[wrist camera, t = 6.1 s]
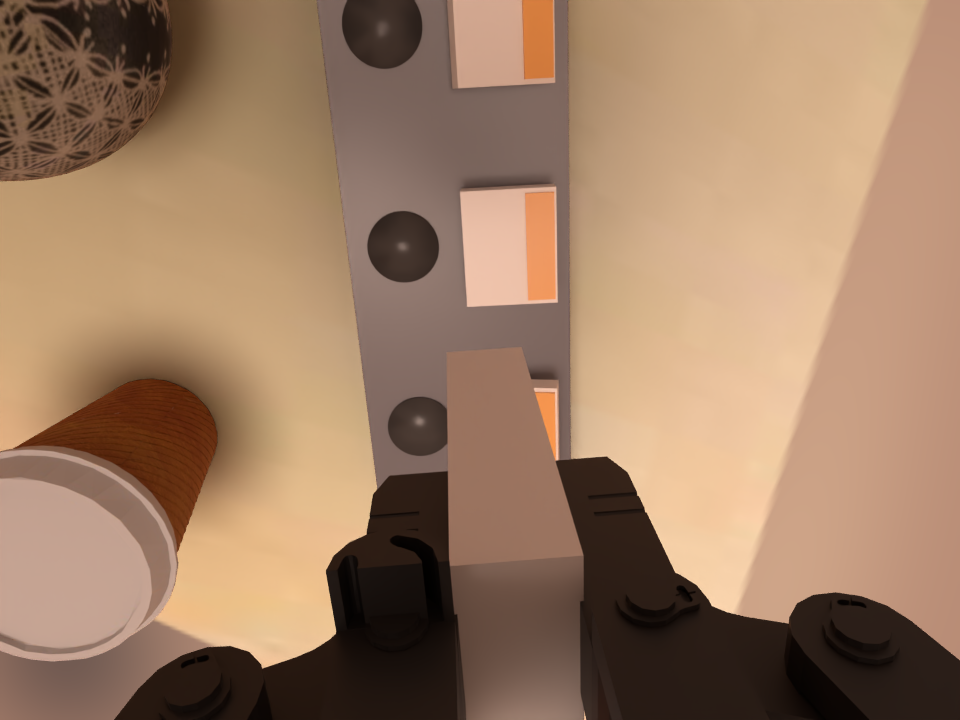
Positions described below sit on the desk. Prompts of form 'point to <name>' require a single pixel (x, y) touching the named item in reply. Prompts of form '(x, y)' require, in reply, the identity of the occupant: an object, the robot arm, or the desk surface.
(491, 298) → the middle rocker
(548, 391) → the rocker
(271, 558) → the desk surface
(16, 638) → the disposable coffee cup
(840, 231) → the desk surface
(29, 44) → the decorative egg
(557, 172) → the power strip
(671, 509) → the desk surface
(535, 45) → the rocker
